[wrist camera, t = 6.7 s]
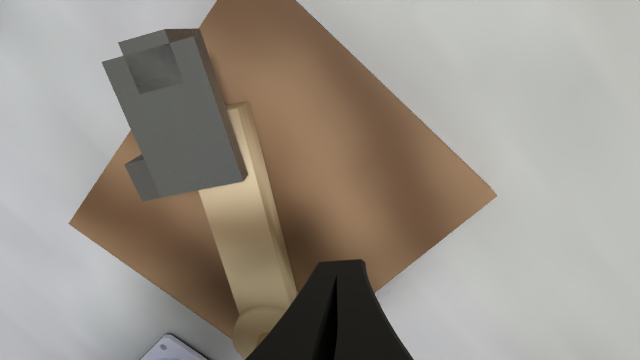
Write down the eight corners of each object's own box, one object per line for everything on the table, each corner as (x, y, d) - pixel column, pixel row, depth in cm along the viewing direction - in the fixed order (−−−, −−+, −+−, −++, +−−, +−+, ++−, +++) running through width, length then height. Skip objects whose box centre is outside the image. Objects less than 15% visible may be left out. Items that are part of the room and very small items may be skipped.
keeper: (191, 171, 20) (160, 197, 17) (142, 44, 17) (95, 48, 14) (262, 156, 19) (243, 181, 16) (220, 22, 17) (188, 22, 14)
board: (279, 355, 26) (276, 370, 25) (82, 214, 23) (68, 223, 22) (489, 186, 20) (497, 195, 18) (254, -40, 17) (246, -44, 15)
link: (319, 338, 23) (312, 397, 19) (253, 342, 24) (233, 400, 20) (262, 98, 18) (237, 117, 14) (178, 112, 18) (133, 134, 15)
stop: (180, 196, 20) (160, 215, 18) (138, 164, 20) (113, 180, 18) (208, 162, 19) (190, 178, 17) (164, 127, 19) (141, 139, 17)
